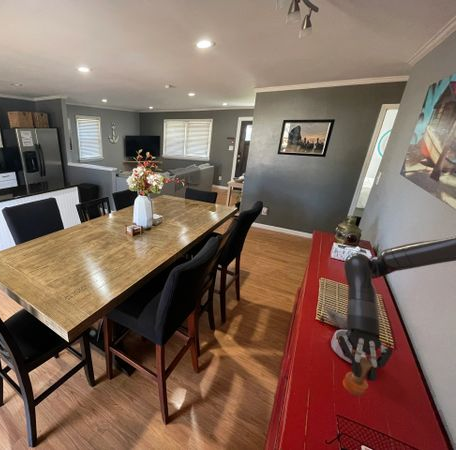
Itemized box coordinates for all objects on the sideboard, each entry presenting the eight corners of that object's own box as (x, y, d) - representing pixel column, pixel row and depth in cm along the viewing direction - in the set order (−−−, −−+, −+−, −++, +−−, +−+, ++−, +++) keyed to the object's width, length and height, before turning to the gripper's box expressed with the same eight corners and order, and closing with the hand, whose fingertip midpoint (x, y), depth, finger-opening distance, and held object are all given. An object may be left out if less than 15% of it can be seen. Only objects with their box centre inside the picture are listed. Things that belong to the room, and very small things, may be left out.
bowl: (378, 363, 94) (384, 353, 92) (352, 370, 91) (358, 360, 89) (346, 336, 106) (351, 327, 104) (323, 342, 103) (326, 332, 101)
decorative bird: (362, 339, 105) (368, 326, 102) (319, 323, 113) (324, 310, 110) (361, 331, 109) (367, 318, 106) (319, 316, 117) (324, 304, 114)
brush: (368, 394, 71) (382, 368, 67) (354, 398, 70) (368, 372, 66) (351, 377, 76) (363, 353, 72) (338, 381, 75) (350, 356, 71)
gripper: (341, 309, 73) (341, 372, 67) (398, 322, 69) (403, 390, 63) (331, 311, 80) (330, 368, 74) (382, 323, 76) (386, 385, 70)
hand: (364, 378), depth 69 cm, fingers closed on brush, 2 cm apart
